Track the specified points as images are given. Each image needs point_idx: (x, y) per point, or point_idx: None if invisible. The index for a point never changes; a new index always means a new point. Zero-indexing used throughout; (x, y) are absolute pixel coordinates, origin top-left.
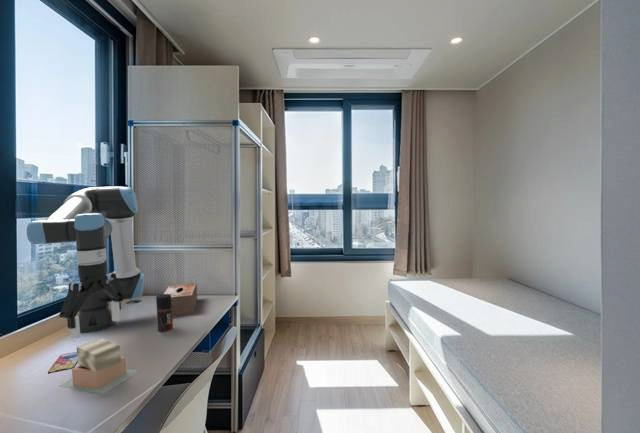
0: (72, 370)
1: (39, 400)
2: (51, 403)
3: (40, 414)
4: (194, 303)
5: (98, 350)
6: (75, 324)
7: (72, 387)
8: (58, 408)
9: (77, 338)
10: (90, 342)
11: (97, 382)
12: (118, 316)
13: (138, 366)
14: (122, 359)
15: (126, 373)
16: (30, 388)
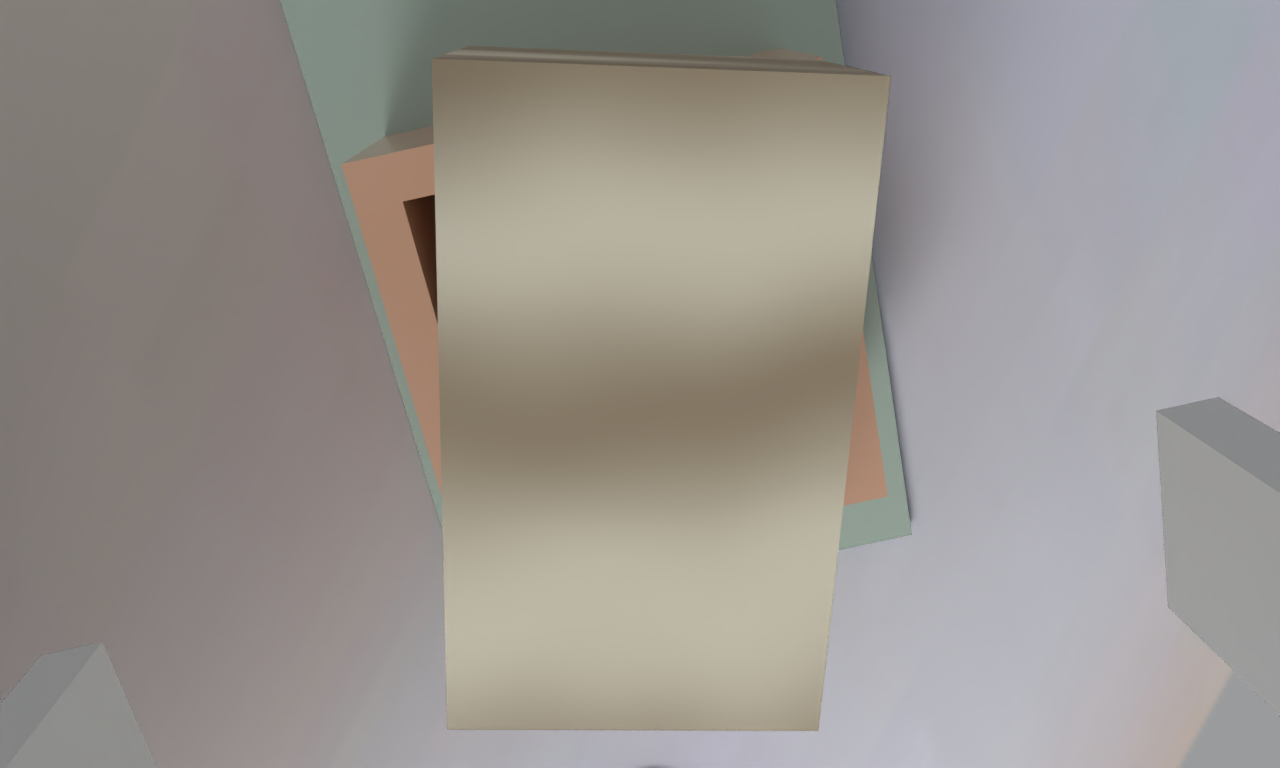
0: (882, 478)
1: (1120, 425)
2: (1115, 253)
3: (1272, 132)
4: None
5: (753, 225)
6: None
7: (874, 362)
8: (1150, 75)
9: (1223, 411)
10: (622, 704)
11: (788, 53)
12: (25, 728)
13: (206, 160)
14: (392, 152)
15: (402, 90)
16: (1021, 733)
